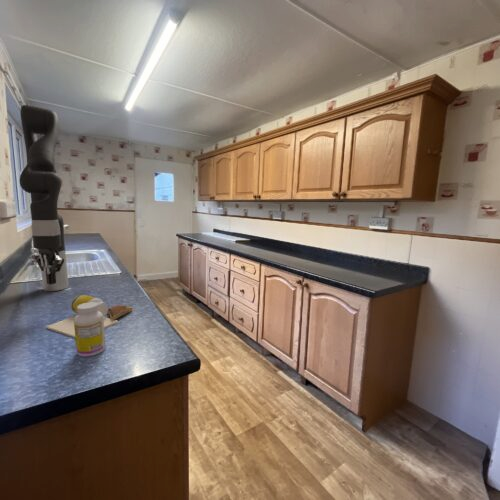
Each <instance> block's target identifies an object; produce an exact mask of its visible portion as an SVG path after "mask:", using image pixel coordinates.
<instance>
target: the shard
mask: <svg viewBox="0 0 500 500" xmlns="http://www.w3.org/2000/svg"><path fill="white" fill-rule="evenodd" d="M132 311H133V307H131V306H130V305H129V306H128V305H122V304H121V305H120V304H116V305H114V306H111V307H108V311H107V314H109V318H110V319H113V320H117V319H118V318H120V317H121V316H124V315H125V314H128V313H130V312H132Z"/></svg>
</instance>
